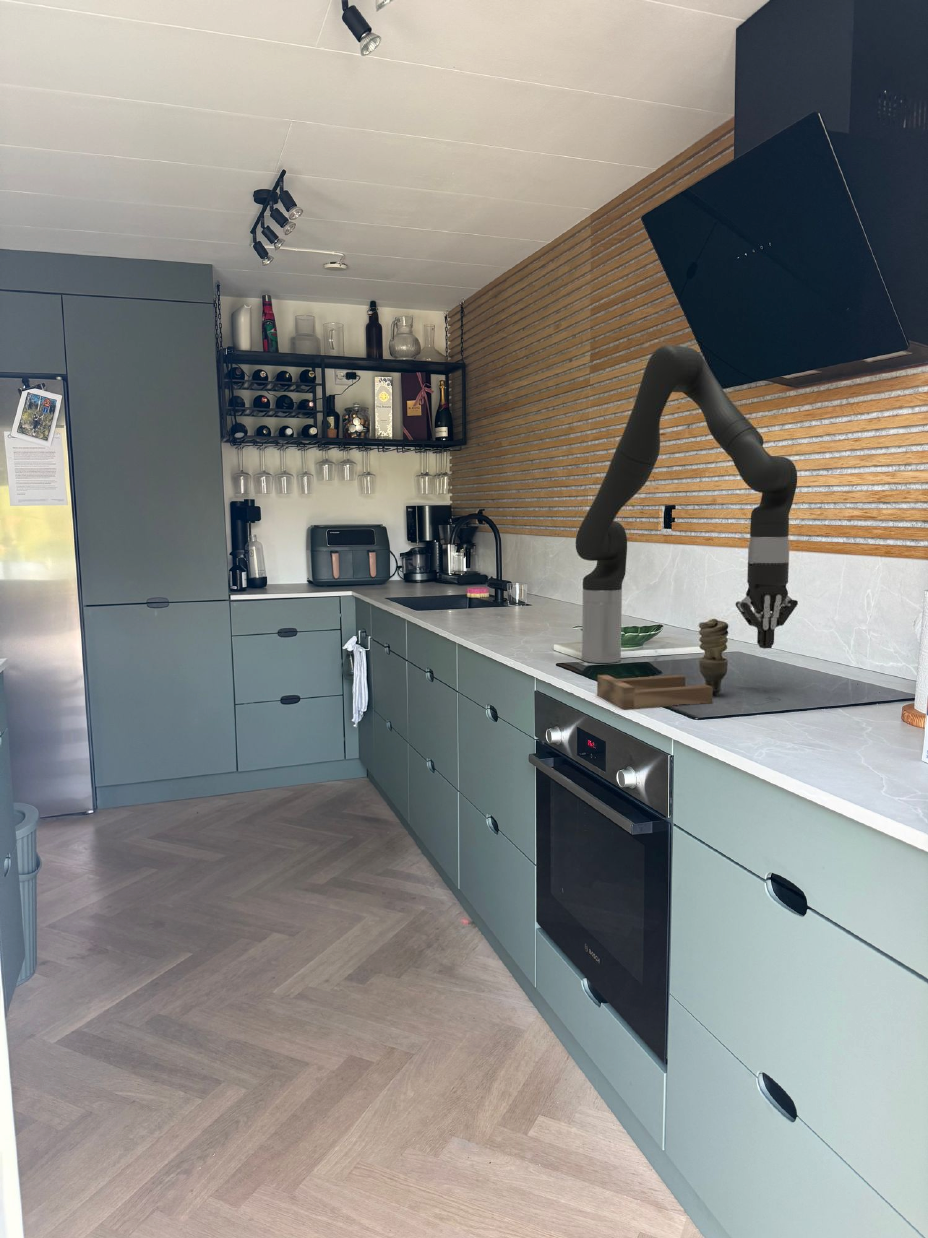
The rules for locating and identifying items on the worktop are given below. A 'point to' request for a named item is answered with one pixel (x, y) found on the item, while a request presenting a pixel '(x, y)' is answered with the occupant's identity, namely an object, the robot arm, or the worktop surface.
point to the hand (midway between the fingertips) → (765, 647)
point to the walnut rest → (651, 691)
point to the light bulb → (713, 652)
